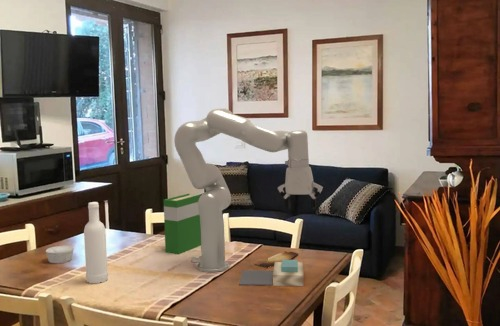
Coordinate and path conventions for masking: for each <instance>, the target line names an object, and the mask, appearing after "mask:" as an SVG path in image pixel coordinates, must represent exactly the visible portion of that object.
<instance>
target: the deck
mask: <svg viewBox="0 0 500 326" xmlns="http://www.w3.org/2000/svg"><path fill="white" fill-rule="evenodd" d="M281 265H282V262H275V263H274V266H273V270H272V271H273V279H272V286H274V287H304V261H303V262H301V261H300V262H299V261H298V272H281Z"/></svg>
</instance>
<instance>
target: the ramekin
mask: <svg viewBox="0 0 500 326" xmlns="http://www.w3.org/2000/svg"><path fill="white" fill-rule="evenodd" d="M74 249H75V248H74V246H71V245H57V246H56V245H55V246H52V247H48V248H47V249H46V250H45V254H46V257H47V261H48V262H49V263H50V264H64V263H68V262H70V261H72V259H73V254H74Z"/></svg>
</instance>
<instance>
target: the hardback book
mask: <svg viewBox="0 0 500 326" xmlns="http://www.w3.org/2000/svg"><path fill="white" fill-rule="evenodd" d="M201 195H202V194H197V195H191V194H190V193H185V194H182V195H178V196H174V197H170V198H165V199H163V217H164V220H163V221H164V248H165V251H164V252H165V253H167V254H173V255H181V254H183V253H186V252H189V251H190V250H193V249H196V248H198V247H201V227H200V215H199V210H198V201H199V198H200V196H201Z"/></svg>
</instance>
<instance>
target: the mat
mask: <svg viewBox="0 0 500 326" xmlns="http://www.w3.org/2000/svg"><path fill="white" fill-rule="evenodd" d="M250 285H268V287H269V286H270V287H271V286H273V270H257V269H255V270H253V269H251V270H250V269H246V270H245V269H243V270H242V273H241V276H240V279H239V282H238V286H250Z"/></svg>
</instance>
